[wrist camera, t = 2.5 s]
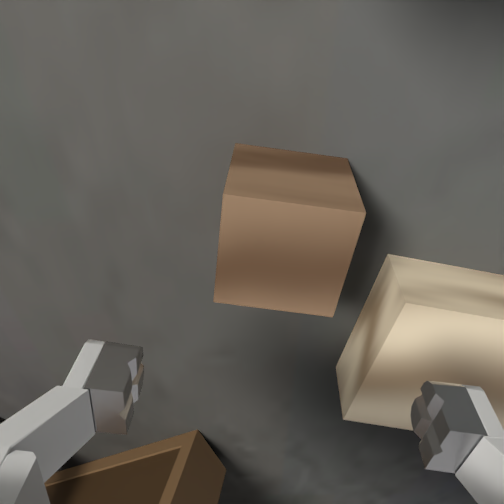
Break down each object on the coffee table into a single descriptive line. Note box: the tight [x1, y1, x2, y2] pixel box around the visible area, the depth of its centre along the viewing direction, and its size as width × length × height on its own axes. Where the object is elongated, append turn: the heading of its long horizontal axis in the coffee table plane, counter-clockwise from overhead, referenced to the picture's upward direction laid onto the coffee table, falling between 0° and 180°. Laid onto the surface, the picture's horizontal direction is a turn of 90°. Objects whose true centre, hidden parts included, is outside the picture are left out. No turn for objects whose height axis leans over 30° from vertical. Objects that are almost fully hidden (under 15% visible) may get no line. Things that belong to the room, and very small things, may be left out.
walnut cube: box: [213, 143, 366, 317], centre depth 18 cm, size 5×5×5 cm
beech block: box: [336, 254, 504, 431], centre depth 23 cm, size 9×9×4 cm
